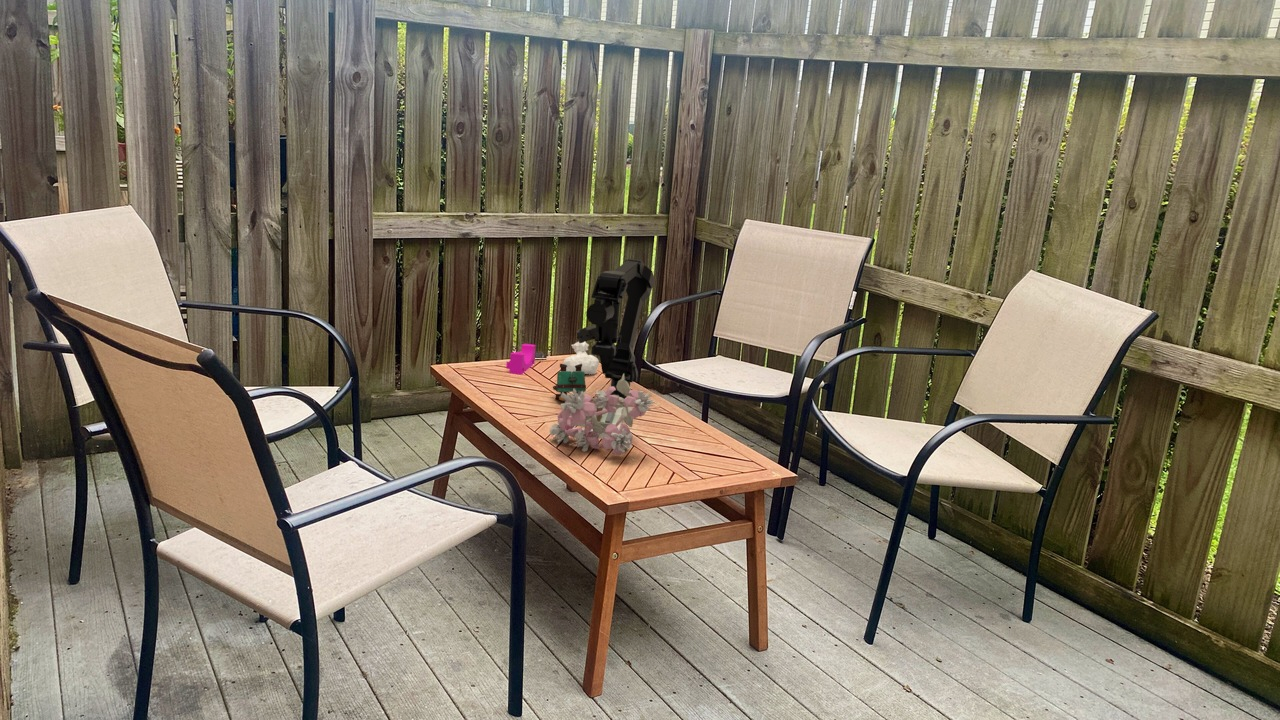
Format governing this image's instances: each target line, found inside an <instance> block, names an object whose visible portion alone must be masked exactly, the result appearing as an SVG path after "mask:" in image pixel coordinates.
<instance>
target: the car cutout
mask: <svg viewBox="0 0 1280 720" xmlns="http://www.w3.org/2000/svg"><path fill="white" fill-rule="evenodd" d="M535 358H548V356H547V354H544V353H543V351H540V350H539V351H535ZM545 360H546V361H547V359H535V361H545Z"/></svg>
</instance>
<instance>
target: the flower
mask: <svg viewBox="0 0 1280 720" xmlns="http://www.w3.org/2000/svg"><path fill="white" fill-rule="evenodd" d="M616 388H617V390H618V391H620V392H621V393H622V394H624V395H625V396H627V397H626V398H625V399H624V398H621V397H619V396H616V395H610V394H611V393H612V392H613V391H614V390H616V389H615V387H614V386H612V387H611V386H609V387H607V388H606V390H605V391H604V390H603V389H601V390H597V391H595V394H594V395H593V397H595V398H593V397H592V396H591V395H590V394H587V393H585V392H583V391H582V392H581V394H580V396H579V395H578V394H577V391H576V390H575V389H573V392H569V393H567V395H566V394H564V393H563V392H562V394H561V398H564V399H566V400H565V401H564V403H560V407H561V411H560V412H559V413H558V414H557V423H554V424H552V425H551V427H550V428H549V436H551V437H552V439H551V440H550V441H554V440H556V442H557V444H558V445H559V444H560V443H561V442H562V443H563V444H567V443H568V442H569V441H570V438H573V440H577V441H575V442H572V443H568V444H569V446H572V445H573V444H575V446H576V447H577V448H579V447H581V451H582V452H588V450H589V446H591V448H592V449H594V450H600V448H601V447H602V448H603V449H605V450H609V449H612V452H611V454H612V455H616V456H617V455H618V456H620V455H623V453H625V452H626V451H628V450H630V449H631V448H632V447H633V444H632V443H633V438H634V435H633V433H632V432H631V429H630V428H633V422H634V419H636V418H639V417H643V416H645V414H646V412H647V411H650V410H652V408H651V406H652V407H653V406H654V405H653V403H655V401H654V399H650V397H652V394H651V393H650V392H646V394H645V391H643V390H641V391H638V389H631V385H630V386H629V384H628V382H627V381H625V380H624V374H623V376H622V379H621V380H619V381H618V383H617V386H616ZM573 395H574V396H573ZM592 401H594V402H595V403H596V402H597V403H596V404H595V403H591V402H592ZM622 407H624V408H623V409H622V412H621V417H620V418H619V420H618V421H617V423H616V424H611V423H599V422H598V421H597V416H600V415H603V414H605V413H608V412H615V410H616V409H618V408H622ZM632 407H633V408H632ZM597 408H605V410H602V411H599V412H596V411H597ZM571 413H572V416H570V414H571ZM622 420H623V422H624V423H622V424H621V429H620V431H619V429H618V428H617V426H618V425H619V424H620V423H621V422H622ZM558 424H559V425H558ZM583 424H585V427H584V432H585V434H584V433H582V432H583V429H582V428H583V426H580V427H578V426H577V425H583ZM575 425H576V426H575ZM573 427H574V428H576V429H572V428H573ZM592 429H593V431H592V432H590V431H591V430H592ZM602 433H606V434H607V435H608V436H610V437H603V439H601V441H600V438H598V437H599V435H600V434H602ZM600 442H601V444H599V443H600Z"/></svg>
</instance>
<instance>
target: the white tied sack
mask: <svg viewBox="0 0 1280 720" xmlns="http://www.w3.org/2000/svg"><path fill="white" fill-rule="evenodd" d="M589 346H590V344H588V343H587V341H585V342H583V343H579V341H577V342H575V343H574V344H571V348H572V349H573V351H574V352H575V353H576V354H574V355H573V354H572V355H570V356H568V357H566V358H564V359H563V362H562V364H565V365H567V367H566V371H571V372H573V371H576V368H575V366H576V365H579V364H582V367H581V371H583V372H584V373H585V374H589V375H588V376H590V374H591V375H595V374H596V373H597V372H598V368H599V363H600V360H599V358H597V356H595V355H593V354H588V353H587V351H589Z"/></svg>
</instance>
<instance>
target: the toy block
mask: <svg viewBox="0 0 1280 720" xmlns="http://www.w3.org/2000/svg"><path fill="white" fill-rule="evenodd" d="M535 352H536V344H530V343H523V344H521V350H520V351H515V352H511V353H510V359H509V361H506V369H507V370H509V374H512V375H520V376H522V375H523V374H525V373H526V371H528V370H529V369H530V368H531V367H533V366H534V365H535V363H536V362H535V361H536V360H535ZM533 364H534V365H533Z"/></svg>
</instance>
